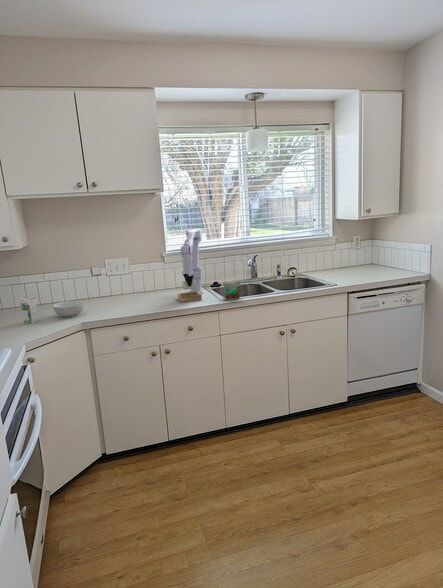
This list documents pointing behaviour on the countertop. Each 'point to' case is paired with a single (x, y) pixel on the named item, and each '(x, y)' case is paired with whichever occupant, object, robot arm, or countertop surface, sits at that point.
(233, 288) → the food container
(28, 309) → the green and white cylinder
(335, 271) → the countertop surface
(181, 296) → the box
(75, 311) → the cereal bowl
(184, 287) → the sage crate
